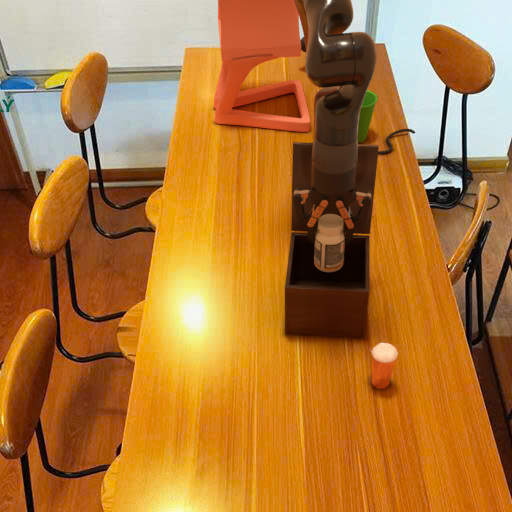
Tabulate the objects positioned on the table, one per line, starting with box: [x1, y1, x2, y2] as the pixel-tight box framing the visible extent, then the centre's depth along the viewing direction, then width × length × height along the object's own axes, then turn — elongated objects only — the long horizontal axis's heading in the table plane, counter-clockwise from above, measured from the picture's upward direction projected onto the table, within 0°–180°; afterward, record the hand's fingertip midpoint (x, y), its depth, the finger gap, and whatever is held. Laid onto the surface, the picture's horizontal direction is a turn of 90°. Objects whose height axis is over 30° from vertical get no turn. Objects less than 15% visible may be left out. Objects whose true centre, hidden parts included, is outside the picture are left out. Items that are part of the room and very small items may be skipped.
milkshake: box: [368, 342, 399, 390], centre depth 124 cm, size 4×5×10 cm
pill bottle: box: [314, 214, 345, 272], centre depth 129 cm, size 6×6×10 cm
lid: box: [290, 141, 380, 235], centre depth 131 cm, size 17×16×1 cm
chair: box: [213, 0, 311, 133], centre depth 178 cm, size 24×26×35 cm
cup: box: [358, 89, 379, 144], centre depth 178 cm, size 9×9×11 cm
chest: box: [284, 231, 371, 340], centre depth 137 cm, size 17×16×12 cm
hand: (329, 240), depth 128 cm, fingers closed on pill bottle, 5 cm apart
